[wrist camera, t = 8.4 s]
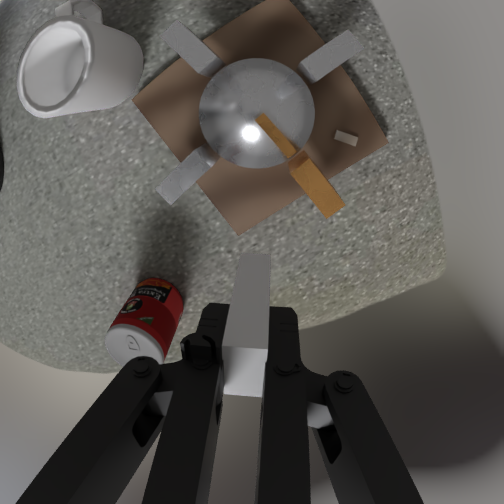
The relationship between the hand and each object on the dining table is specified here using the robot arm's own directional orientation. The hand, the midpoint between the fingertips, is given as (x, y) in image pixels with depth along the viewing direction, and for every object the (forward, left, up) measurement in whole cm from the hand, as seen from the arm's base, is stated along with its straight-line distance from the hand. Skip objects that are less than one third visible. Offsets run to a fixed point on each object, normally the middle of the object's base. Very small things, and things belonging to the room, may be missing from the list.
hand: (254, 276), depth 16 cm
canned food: (+5, -22, -20) cm, 30 cm away
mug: (-24, -6, -20) cm, 32 cm away
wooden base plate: (-7, +4, -20) cm, 22 cm away
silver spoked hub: (-7, +4, -16) cm, 18 cm away
